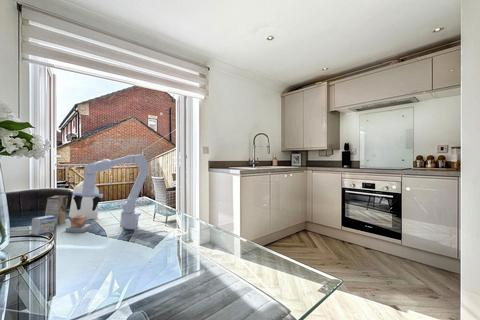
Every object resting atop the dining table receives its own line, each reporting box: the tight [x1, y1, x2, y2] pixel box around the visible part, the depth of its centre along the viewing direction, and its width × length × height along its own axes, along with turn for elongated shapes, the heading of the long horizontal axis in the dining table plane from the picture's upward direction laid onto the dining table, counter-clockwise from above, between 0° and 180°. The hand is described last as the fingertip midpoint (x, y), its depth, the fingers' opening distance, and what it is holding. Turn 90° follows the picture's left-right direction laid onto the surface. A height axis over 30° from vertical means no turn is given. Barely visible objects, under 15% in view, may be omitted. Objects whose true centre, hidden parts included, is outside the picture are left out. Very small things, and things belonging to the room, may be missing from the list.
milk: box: [68, 180, 100, 221], centre depth 148 cm, size 12×12×26 cm
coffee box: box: [44, 194, 69, 227], centre depth 127 cm, size 9×6×16 cm
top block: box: [64, 223, 92, 234], centre depth 121 cm, size 8×8×2 cm
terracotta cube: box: [69, 215, 87, 228], centre depth 120 cm, size 5×5×5 cm
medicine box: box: [30, 215, 56, 236], centre depth 113 cm, size 8×4×9 cm, turn 168°
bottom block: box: [63, 227, 93, 234], centre depth 120 cm, size 10×10×2 cm
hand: (86, 209), depth 127 cm, fingers open, 7 cm apart
